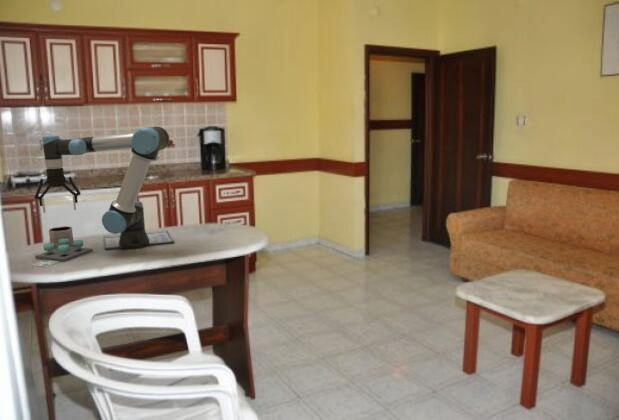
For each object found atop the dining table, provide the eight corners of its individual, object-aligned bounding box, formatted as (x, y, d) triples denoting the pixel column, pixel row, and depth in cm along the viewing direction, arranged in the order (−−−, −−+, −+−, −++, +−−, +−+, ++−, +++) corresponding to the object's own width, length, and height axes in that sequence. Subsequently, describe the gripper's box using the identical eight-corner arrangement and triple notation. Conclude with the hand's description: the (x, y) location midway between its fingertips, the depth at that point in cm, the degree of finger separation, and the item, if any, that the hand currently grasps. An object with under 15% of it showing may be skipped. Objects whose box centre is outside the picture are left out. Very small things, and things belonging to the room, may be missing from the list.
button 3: (71, 246, 258) (70, 238, 257) (64, 249, 254) (63, 241, 253) (64, 245, 260) (63, 238, 259) (57, 248, 256) (56, 240, 255)
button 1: (85, 248, 255) (85, 240, 254) (78, 250, 251) (77, 242, 250) (78, 247, 257) (77, 239, 256) (71, 249, 252) (70, 241, 252)
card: (59, 262, 240) (59, 261, 240) (45, 267, 233) (45, 266, 233) (46, 260, 243) (46, 259, 243) (31, 265, 236) (31, 264, 235)
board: (93, 251, 257) (92, 248, 256) (64, 262, 240) (64, 258, 240) (65, 248, 263) (64, 245, 263) (35, 258, 247) (35, 255, 246)
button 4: (57, 251, 250) (56, 243, 249) (49, 253, 246) (48, 245, 245) (50, 250, 252) (49, 242, 251) (42, 253, 247) (41, 245, 247)
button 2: (71, 252, 247) (70, 244, 246) (63, 255, 243) (63, 247, 242) (64, 252, 248) (63, 244, 248) (56, 254, 244) (55, 246, 243)
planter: (65, 250, 261) (62, 231, 259) (46, 249, 263) (43, 230, 261) (78, 244, 271) (76, 226, 269) (60, 243, 274) (58, 226, 272)
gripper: (82, 165, 258) (87, 207, 262) (26, 168, 248) (32, 212, 252) (82, 166, 251) (87, 209, 255) (24, 170, 241) (30, 215, 245)
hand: (60, 211), depth 254 cm, fingers open, 13 cm apart
